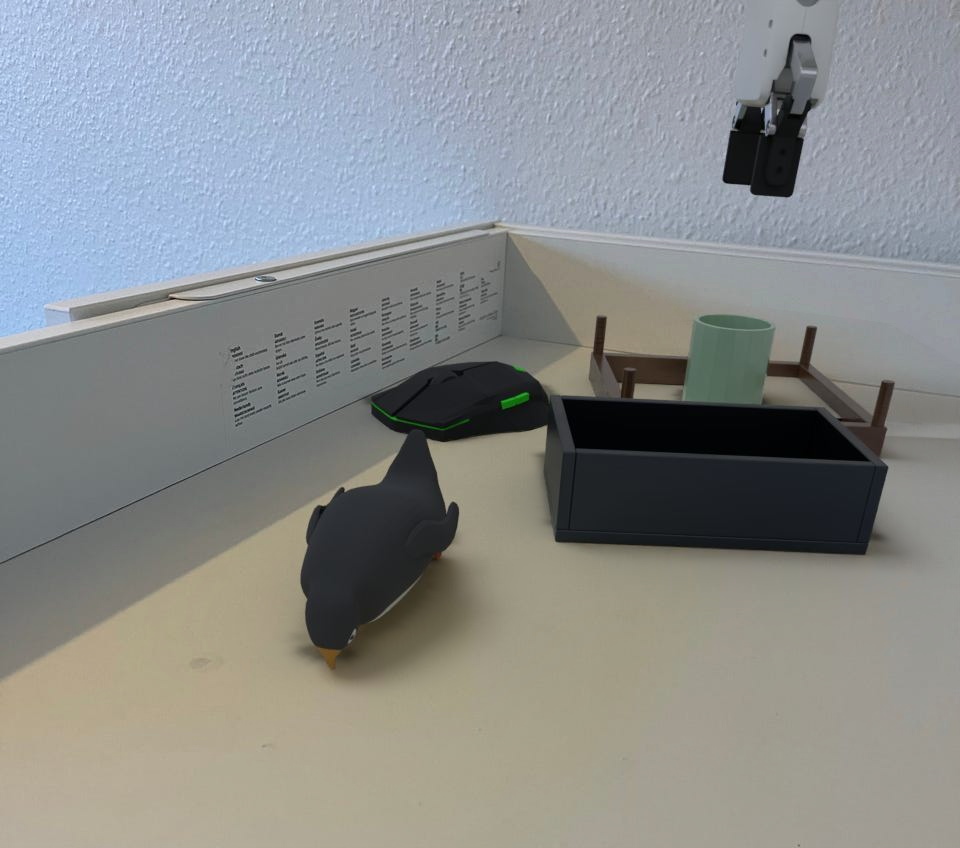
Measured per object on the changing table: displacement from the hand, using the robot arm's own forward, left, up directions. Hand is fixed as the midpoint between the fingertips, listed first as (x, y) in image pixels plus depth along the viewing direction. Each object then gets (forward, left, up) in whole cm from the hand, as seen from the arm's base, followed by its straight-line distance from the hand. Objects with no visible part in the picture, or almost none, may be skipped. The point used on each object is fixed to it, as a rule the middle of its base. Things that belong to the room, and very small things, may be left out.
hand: (754, 189), depth 79 cm
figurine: (+27, +40, -19) cm, 52 cm away
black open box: (+7, +24, -18) cm, 31 cm away
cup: (0, 0, -18) cm, 18 cm away
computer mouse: (+22, +4, -19) cm, 29 cm away
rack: (0, 0, -18) cm, 18 cm away
